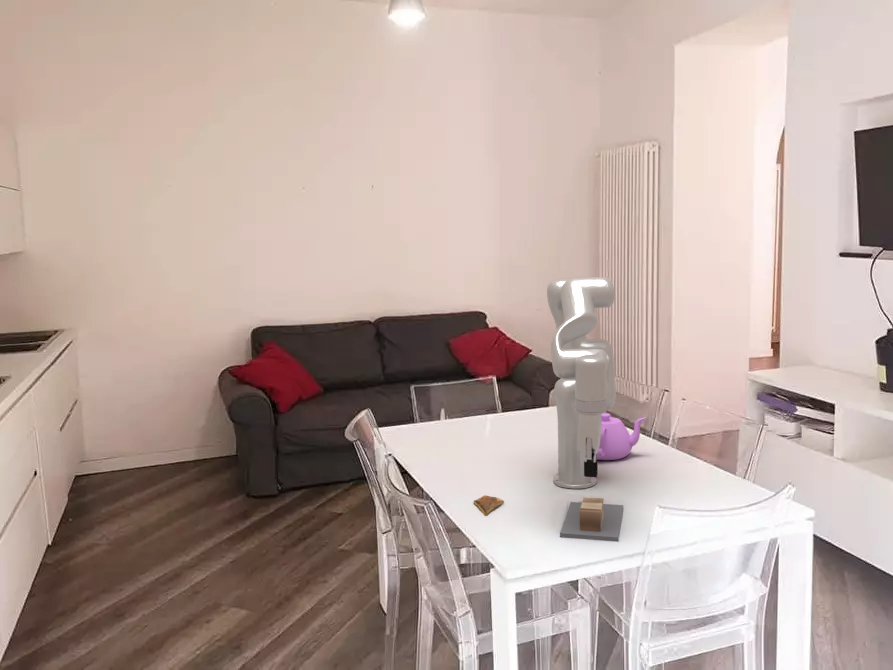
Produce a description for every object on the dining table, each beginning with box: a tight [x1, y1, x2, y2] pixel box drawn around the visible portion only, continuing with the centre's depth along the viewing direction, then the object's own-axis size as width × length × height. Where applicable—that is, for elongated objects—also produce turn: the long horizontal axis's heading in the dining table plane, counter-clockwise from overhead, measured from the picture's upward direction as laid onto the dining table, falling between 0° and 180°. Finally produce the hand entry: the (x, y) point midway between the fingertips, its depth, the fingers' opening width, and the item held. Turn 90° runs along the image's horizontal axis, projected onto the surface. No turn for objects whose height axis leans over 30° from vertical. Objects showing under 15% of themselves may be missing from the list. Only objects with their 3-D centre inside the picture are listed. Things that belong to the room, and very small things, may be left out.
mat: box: [559, 501, 624, 542], centre depth 207 cm, size 22×14×1 cm, turn 165°
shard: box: [473, 494, 505, 516], centre depth 220 cm, size 11×8×2 cm
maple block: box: [580, 496, 604, 532], centre depth 203 cm, size 5×5×10 cm
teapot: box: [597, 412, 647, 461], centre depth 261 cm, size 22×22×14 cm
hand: (590, 475), depth 202 cm, fingers closed
